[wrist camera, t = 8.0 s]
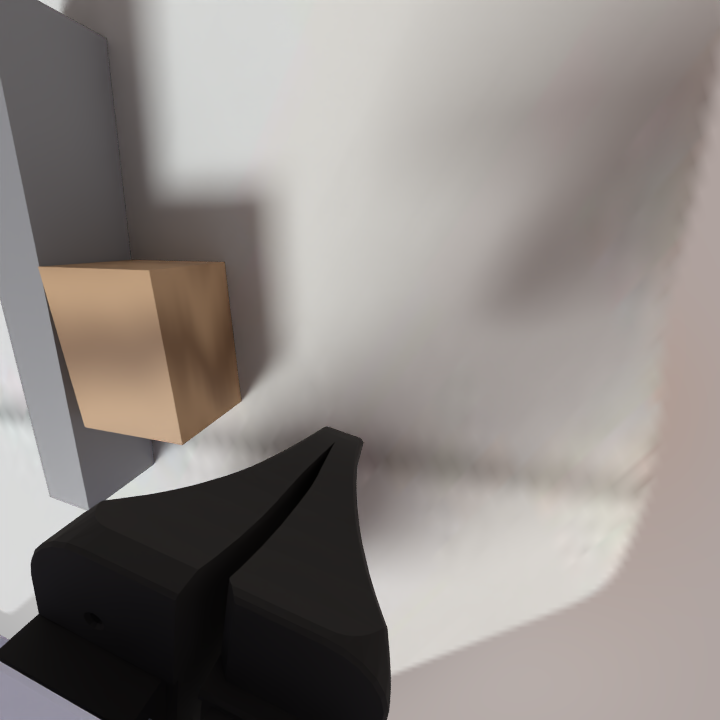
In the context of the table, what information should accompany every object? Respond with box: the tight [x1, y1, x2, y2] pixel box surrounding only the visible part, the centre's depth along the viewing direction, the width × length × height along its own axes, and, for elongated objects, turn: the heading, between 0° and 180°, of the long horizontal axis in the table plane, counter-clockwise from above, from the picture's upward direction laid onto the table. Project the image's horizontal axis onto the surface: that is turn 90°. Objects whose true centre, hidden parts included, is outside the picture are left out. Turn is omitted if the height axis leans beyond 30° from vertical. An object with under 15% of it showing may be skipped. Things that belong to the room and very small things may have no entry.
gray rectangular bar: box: [0, 0, 154, 510], centre depth 19 cm, size 24×3×5 cm, turn 173°
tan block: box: [38, 260, 241, 445], centre depth 18 cm, size 8×6×5 cm
